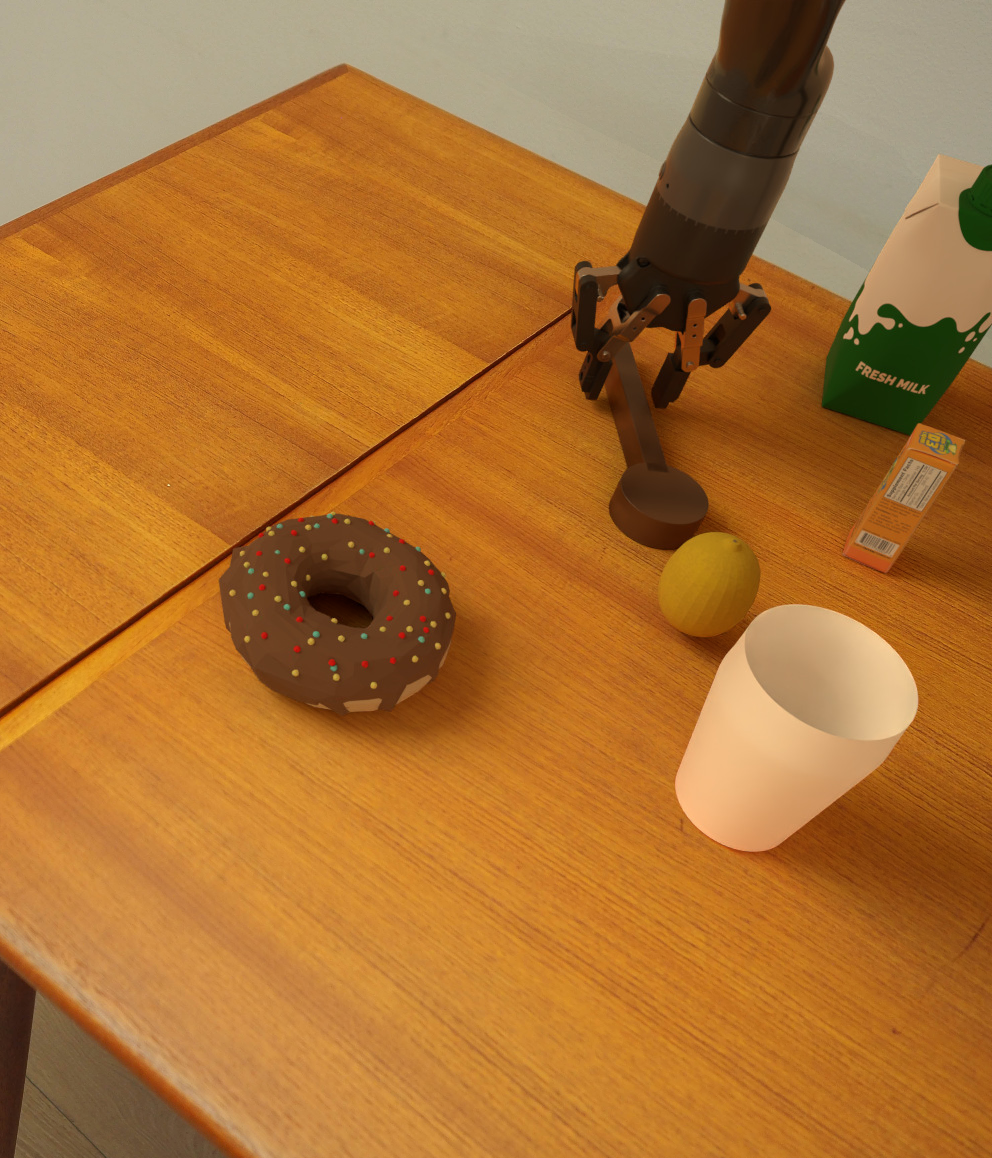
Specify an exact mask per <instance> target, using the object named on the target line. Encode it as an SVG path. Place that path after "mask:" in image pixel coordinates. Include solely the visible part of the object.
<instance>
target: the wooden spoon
mask: <svg viewBox="0 0 992 1158" xmlns="http://www.w3.org/2000/svg"><path fill="white" fill-rule="evenodd" d="M634 355H635V354H634V352H633V349H632V346H631V342H627V343H626V344H625V345H624V346H623V347H622V349H621V350H620V351H619V352H618V353H617V354H616V355H615V356H614V358H613V359H612V362H613V365H612V367H611V369H610V372H609V374H608V376H607V378H606V381H605V383H604V387H605V392H606V396H607V399H608V403H609V406H610V410H611V414H612V417H613V420H614V424H615V428H616V432H617V435H618V438H619V442H620V446H621V450H622V453H623V457H624V461H625V464H626V469H625V470H624V471H623V473H622V475H621V477H620V478H619V481H618V483H617V485H616V487H615V490H614V491H613V493H612V496H611V497H610V500H609V503H608V512H609V516H610V518H611V520H612V522H613V523H614V525H615V526H616V527H617V529H618V530H620V532H621V533H623V534H624V535H625V536H627V537H628V538H630V539H631V540H632V541H635V542H636V543H638V544H641V545H644V546H646V547H650V548H652V549H660V550H674V549H679V548H680V547H681V546H682V545H683V544H684V543H685V542H686V541H688V540H689V539H691V538H693V537H695V535H696V533H697V531H698V530H699V528H700V526H701V524H702V523H703V520H705V517H706V515H707V513H708V511H709V507H710V504H709V503H710V502H709V498H708V495H707V493H706V491H705V490H704V488H703V487H702V485H701V484H700V483H698V481H696V479H694V478H693V477H692V476H690V475H689V474H688V473H686V472H685V471H682V469H681V470H680V469H678V468H676V467H674V466H671V465H668V464H667V460H666V457H665V454H664V451H663V447H662V444H661V441H660V437H659V434H658V431H657V428H656V424H655V421H654V417H653V414H652V411H651V408H650V405H649V401H648V399H647V396H646V395H647V394H646V392H645V388H644V384H643V382H642V378H641V376H640V373H639V369H638V366H637V362H636V359H635V356H634Z"/></svg>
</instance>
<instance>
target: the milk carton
mask: <svg viewBox="0 0 992 1158" xmlns="http://www.w3.org/2000/svg"><path fill="white" fill-rule="evenodd" d="M991 328H992V164H988V165H986V166H984V165H980V164H976V163H972V162H969V161H966V160H962V159H959V158H955V157H952V156H948V155H945V154H941V153H938V154H937V155H936V158H935V159H934V161H933V162H932V164H931V166H930V168H929V170H928V171H927V173H926V175H925V177H924V179H923V180H922V181H921V184H920V186H919V187H918V189H917V191H915V194H914V195H913V196H912V198H911V199H910V201H909V202H908V204H907V205H906V206H905V209H904V212H903V214H902V216H901V217H900V219H899V220H898V222H897V223H896V224H895V227H894V228H893V230H892V231H891V233H890V235H889V237H888V239H887V241H886V243H885V244H884V246H883V247H882V249H881V251H880V253H879V255H878V256H877V257H876V259H875V261H874V263H873V265H872V267H871V269H870V270H869V272H868V274H867V275H866V277H865V279H864V281H863V282H862V284H861V286H860V288H859V289H858V291H857V293H856V295H855V296H854V297H853V300H852V301H851V304H850V305H849V307H848V308H847V311H846V313H845V314H844V316H843V319H842V320H841V323H840V325H839V327H838V330H837V332H836V335H835V337H834V339H833V341H832V344H831V345H830V348H829V350H828V352H827V355H826V359H825V368H824V370H825V371H824V379H823V387H822V388H823V389H822V396H821V397H822V399H821V407H822V408H825V409H828V410H831V411H835V412H837V413H841V414H843V415H847V416H849V417H853V418H856V419H859V420H862V421H865V422H868V423H871V424H875V425H877V426H880V427H884V428H886V429H890V430H892V431H896V432H898V433H902V434H904V435H908V436H911V434H912V433H913V431H914V429H915V427H916V426H917V424H918V423H920V424H923V422H924V421H925V420H926V418H927V417H928V416H929V414H930V413H931V411H932V410H933V409H934V408H935V406H936V405H937V404H938V402H939V401H940V400H941V399H942V397H943V396H944V395H945V393H946V392H947V390H948V389H949V388H950V387H951V386H952V384H953V383H954V381H955V380H956V378H957V376H958V375H959V374H960V372H961V371H962V369H963V368H964V367H965V365H966V364H967V363H968V361H969V359H970V358H971V357H972V355H973V353H974V352H975V351H976V349H977V347H978V346H979V345H980V343H981V341H982V340H983V339H984V337H985V336H986V334H987V333H988V331H989V329H991Z"/></svg>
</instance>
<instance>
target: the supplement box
mask: <svg viewBox="0 0 992 1158" xmlns="http://www.w3.org/2000/svg"><path fill="white" fill-rule="evenodd" d="M965 444H966V439H964V438H961V437H959V436H956V435H953V434H951V433H948V432H945V431H943V430H940V429H938V428H934V427H932V426H928V425H926V424H923V423H921V424H920V423H918V424H917V426H916V427H915V429H914V431H913V433H912V434H911V435H909V438H908V439H907V440H906V443H905V444H904V446H903V447H902V449H901V451H900V452H899V454H898V455H897V456H896V458H895V460H894V461H893V462H892V464H891V466H890V467H889V469H888V471H887V473H886V474H885V476H884V477H883V479H882V480H881V482H880V484H879V485H878V487H877V489H876V490H875V491H874V493H873V495H872V496H871V498H870V500H869V501H868V502H867V505H866V506H865V507H864V509H863V511H862V512H861V514H860V515H859V517H858V518H857V520H856V522H855V523H854V524H853V527H851V529H850V531H849V532H848V535H847V538H846V541H845V544H844V547H843V550H842V553H841V554H842V556H844V557H846V558H847V559H850V560H852V561H855V562H857V563H859V564H861V565H864V566H867V567H869V568H871V569H873V570H876V571H878V572H881V573H884V574H887V573H888V572H890V570H891V569H892V567H893V566H894V564H895V563H896V562H897V560H898V558H899V557H900V555H901V553H902V552H903V551H904V549H905V548H906V546H907V545H908V543H909V542H910V540H911V539H912V537H913V536H914V534H915V533H916V531H917V529H918V528H919V526H920V525H921V524H922V522H923V520H924V519H925V518H926V516H927V514H928V513H929V511H930V510H931V508H932V507H933V505H934V503H935V502H936V500H937V499H938V497H939V496H940V494H941V493H942V491H943V489H944V488H945V487H946V485H947V483H948V482H949V480H950V479H951V477H952V475H953V473H954V472H955V471H956V469H957V467H958V465H960V456H961V453H962V450H963V448H964V446H965Z"/></svg>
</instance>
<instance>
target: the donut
mask: <svg viewBox="0 0 992 1158" xmlns="http://www.w3.org/2000/svg"><path fill="white" fill-rule="evenodd" d="M446 577H447V575H446V572H443V571H440V569H439V568H437V566H436V565H435V564H434V563H433V561H432V560H431V559H430V558H429V557H428V556H427V555H425V554H424V553H423V552H422V549H421V547H420V546H414V545H412V544H410V543H408V542H407V541H405V539H403V538H401V537H398V536H397V535H396V534H394V533H391V530H390V528H387V527H386V528H382V527H380V526H378V525H377V523H376V521H375V520H367V518H366V519H365V518H362V517H358V516H353V515H349V514H348V515H347V514H342V513H336V511H331V512H329V513H328V514H321V515H316V516H314V515H310V516H305V517H298V518H297V517H296V518H289V519H285V520H283V521H282V520H281V521H280V522H278V523H276V524H273V525H271V526H266V528H265V531H264V532H260V533H259V534H258V537H257V538H255V539H254V540H253V541H252V542H250V543H249V544H247V545H243V546H239V547H234V548H232V554H231V558H230V563H229V567H228V568H227V569H226V570H225V571H224V572H223V573H222V574H221V576H220V577H219V579H218V586H219V592H220V600H221V607H222V614H223V619H224V624H225V629H226V630H227V631H228V632H229V633H230V638H231V641H232V642H233V645H234V648H235V650H236V651H237V652H238V653H239V655H240V656H241V658H242V660H243V661H245V663H246V664H247V665H248V667H250V669H251V670H252V672H253V673H254V675H255V676H256V678H257V679H258V681H259V682H260V683H261V684H262V685H264V686H265V687H267V688H268V689H269V690H271V691H273V692H275V693H277V694H280V695H282V696H284V697H287V698H288V699H289V698H290V699H292V700H294V701H297V702H299V703H304V704H306V705H309V706H311V707H313V708H319V709H325V710H330V711H333V712H335V713H336V714H338V715H340V716H341V717H344V716H346V715H348V714H349V713H350V714H351V712H352V713H353V712H356V713H357V712H374V711H377V710H382V711H385V712H391V713H392V712H393V710H394V708H395V707H396V705H399V704H401V702H403V701H405V700H407V699H409V698H410V697H411V696H413V695H415V694H416V693H419V692H420V691H421V690H422V689H423V688H424V687H425V686H426V685H428V684H430V683H433V682H434V681H435V680H436V679H437V677H438V676H439V674H440V673H439V672H440V669H441V668H442V667H443V665H444V664H445V661H446V659H447V655H448V653H449V651H450V648H451V645H452V637H453V634H454V630H455V623H456V617H457V612H456V610H455V608H454V606H453V602H452V600H451V596H450V595H451V594H450V593H451V589H450V585H449V582H448V581H447V579H446ZM319 594H327V595H339V596H343V597H346V598H347V599H349V600H352V601H354V602H356V603H358V604H360V605H362V606H363V607H364V608H365V609H366V610H367V612H368V613H369V614H370V615H371V617H372V618H373V619H372V621H371V622H370V624H369V625H368V626H367V627H365V628H364V627H354V626H353V627H352V626H349V625H345V624H343V623H339V621H338V619H337V618H335V617H334V618H333V617H331V616H329V615H328V614H325V613H323V612H321V611H318V610H317V609H315V608H314V607H313V606H312V605H311V603H310V601H309V600H308V598H311V597H314V596H317V595H319Z"/></svg>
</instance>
